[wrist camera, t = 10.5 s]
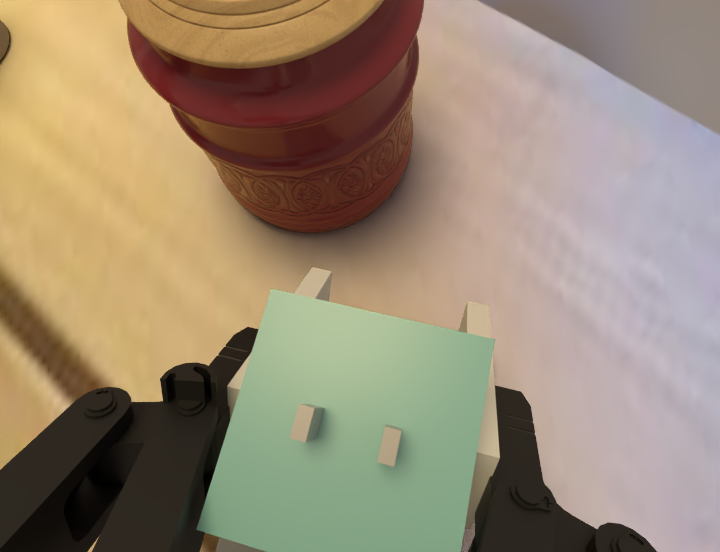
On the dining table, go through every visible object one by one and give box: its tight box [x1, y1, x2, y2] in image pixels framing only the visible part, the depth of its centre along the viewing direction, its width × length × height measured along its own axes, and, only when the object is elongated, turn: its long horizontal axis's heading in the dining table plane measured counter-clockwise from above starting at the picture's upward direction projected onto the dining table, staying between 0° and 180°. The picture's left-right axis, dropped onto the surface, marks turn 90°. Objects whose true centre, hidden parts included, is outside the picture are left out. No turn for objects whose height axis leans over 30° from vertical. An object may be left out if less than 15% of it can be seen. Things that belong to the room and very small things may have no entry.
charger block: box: [196, 289, 495, 552], centre depth 13 cm, size 5×5×11 cm
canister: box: [119, 0, 424, 233], centre depth 22 cm, size 13×13×18 cm
